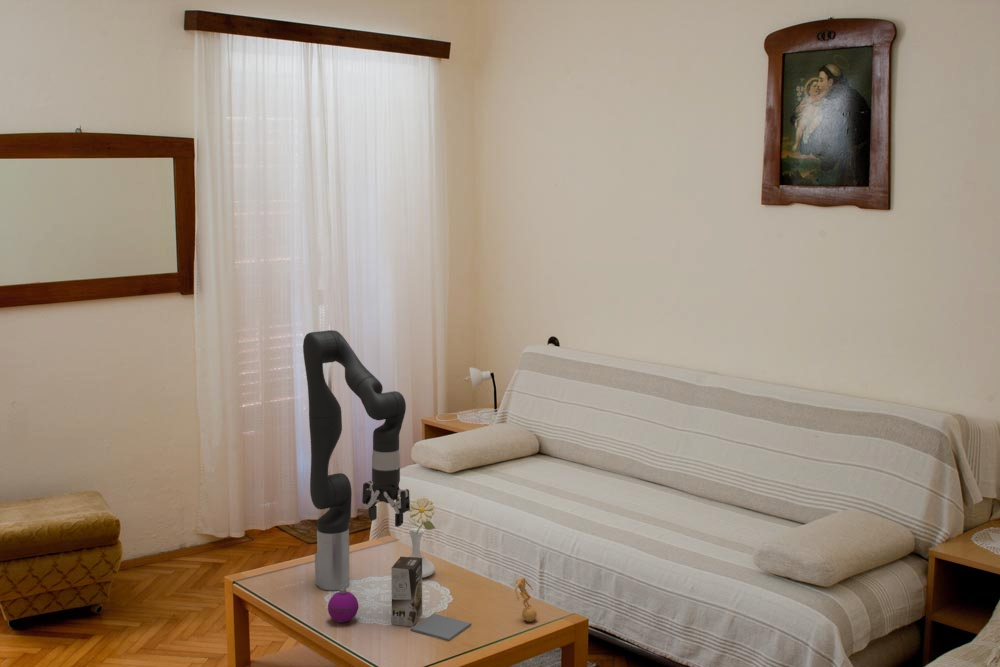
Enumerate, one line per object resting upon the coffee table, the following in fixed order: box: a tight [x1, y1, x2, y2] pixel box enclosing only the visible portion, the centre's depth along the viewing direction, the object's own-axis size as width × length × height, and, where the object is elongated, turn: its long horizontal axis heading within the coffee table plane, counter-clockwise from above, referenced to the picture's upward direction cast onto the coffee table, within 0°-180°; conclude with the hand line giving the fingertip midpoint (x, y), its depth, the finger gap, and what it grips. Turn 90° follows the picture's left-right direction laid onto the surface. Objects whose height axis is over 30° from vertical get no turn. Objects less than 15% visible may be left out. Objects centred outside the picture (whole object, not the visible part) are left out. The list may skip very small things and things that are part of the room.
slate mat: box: [410, 613, 472, 642], centre depth 268 cm, size 12×11×1 cm
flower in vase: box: [407, 496, 436, 579], centre depth 302 cm, size 13×11×25 cm
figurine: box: [514, 577, 538, 623], centre depth 272 cm, size 8×6×12 cm
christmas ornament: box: [327, 586, 359, 623], centre depth 271 cm, size 8×8×10 cm
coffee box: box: [390, 556, 423, 628], centre depth 272 cm, size 9×6×16 cm
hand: (385, 522), depth 273 cm, fingers open, 8 cm apart
